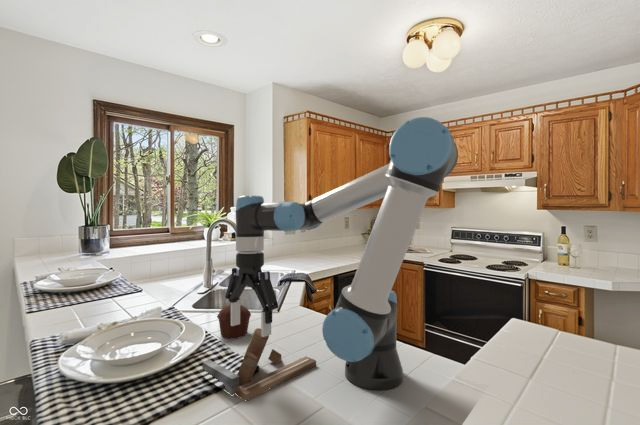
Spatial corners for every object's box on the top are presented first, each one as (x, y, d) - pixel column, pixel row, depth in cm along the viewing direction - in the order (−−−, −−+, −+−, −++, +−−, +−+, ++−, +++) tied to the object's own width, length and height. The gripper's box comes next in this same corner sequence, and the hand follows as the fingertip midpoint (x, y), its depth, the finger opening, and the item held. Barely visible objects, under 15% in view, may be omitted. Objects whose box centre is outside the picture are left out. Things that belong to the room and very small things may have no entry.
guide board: (316, 365, 92) (316, 351, 92) (242, 403, 73) (242, 385, 73) (275, 349, 103) (275, 336, 103) (202, 377, 84) (202, 362, 84)
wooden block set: (247, 400, 79) (262, 364, 77) (218, 380, 81) (232, 344, 80) (279, 365, 96) (292, 335, 95) (255, 349, 98) (267, 320, 97)
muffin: (254, 329, 121) (255, 302, 121) (245, 340, 110) (245, 310, 110) (223, 328, 122) (224, 301, 122) (211, 338, 111) (211, 309, 111)
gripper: (291, 253, 85) (291, 336, 84) (234, 248, 101) (234, 318, 101) (269, 256, 79) (269, 344, 79) (213, 250, 96) (212, 324, 95)
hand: (250, 330), depth 90 cm, fingers open, 13 cm apart
